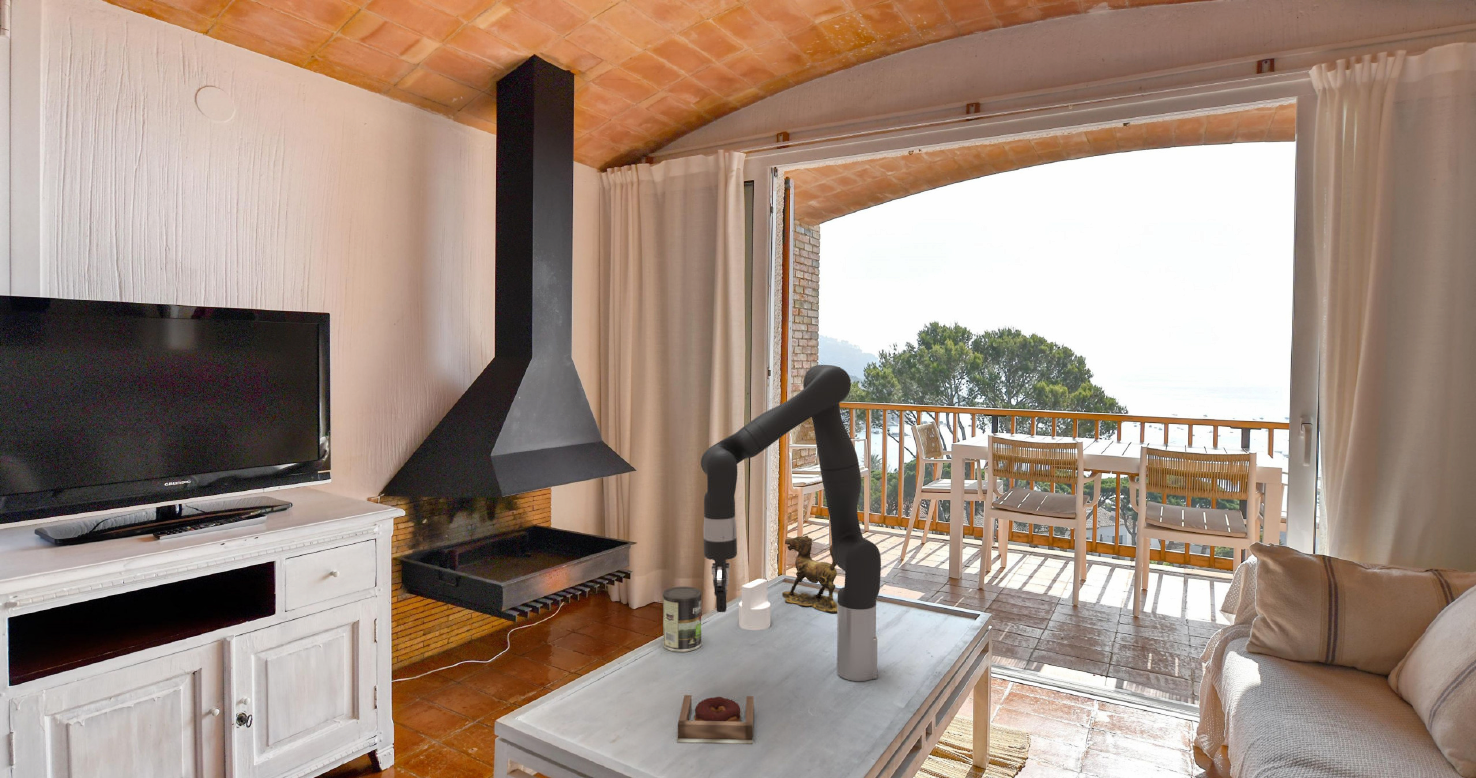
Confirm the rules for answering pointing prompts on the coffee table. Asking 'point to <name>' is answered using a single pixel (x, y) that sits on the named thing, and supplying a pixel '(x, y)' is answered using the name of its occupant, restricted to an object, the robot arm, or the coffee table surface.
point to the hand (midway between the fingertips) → (721, 610)
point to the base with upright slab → (754, 606)
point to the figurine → (812, 577)
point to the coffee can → (682, 619)
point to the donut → (717, 710)
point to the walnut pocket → (715, 727)
